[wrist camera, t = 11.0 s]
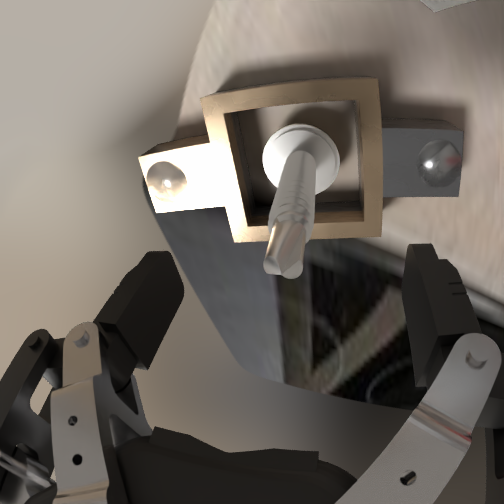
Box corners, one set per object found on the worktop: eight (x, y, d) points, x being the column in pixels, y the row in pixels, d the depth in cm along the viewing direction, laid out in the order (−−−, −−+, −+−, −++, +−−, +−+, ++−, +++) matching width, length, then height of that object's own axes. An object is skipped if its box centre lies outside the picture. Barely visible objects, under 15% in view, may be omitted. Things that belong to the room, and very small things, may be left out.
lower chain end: (444, 80, 15) (463, 84, 12) (439, 213, 20) (452, 234, 18) (215, 92, 19) (199, 98, 16) (243, 221, 24) (234, 242, 22)
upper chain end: (368, 76, 16) (377, 79, 14) (375, 215, 22) (381, 236, 19) (148, 109, 20) (126, 118, 18) (182, 225, 26) (168, 245, 23)
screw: (350, 164, 20) (292, 195, 22) (312, 105, 18) (253, 141, 20) (380, 297, 9) (263, 338, 12) (307, 175, 8) (178, 250, 10)
